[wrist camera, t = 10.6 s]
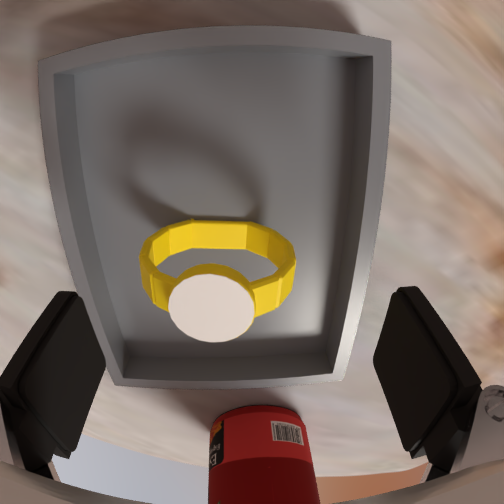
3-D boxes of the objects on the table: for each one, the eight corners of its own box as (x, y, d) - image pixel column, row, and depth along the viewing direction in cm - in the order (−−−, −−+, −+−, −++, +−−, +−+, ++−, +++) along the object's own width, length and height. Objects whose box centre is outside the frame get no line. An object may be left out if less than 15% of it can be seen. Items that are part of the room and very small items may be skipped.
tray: (367, 47, 12) (391, 40, 9) (333, 352, 20) (343, 380, 18) (65, 63, 11) (38, 61, 9) (123, 357, 19) (114, 385, 17)
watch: (163, 254, 16) (123, 334, 10) (160, 202, 14) (108, 266, 9) (284, 262, 16) (295, 349, 10) (290, 209, 14) (309, 280, 9)
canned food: (199, 408, 22) (193, 540, 13) (302, 394, 22) (328, 529, 12) (221, 449, 26) (223, 552, 16) (306, 438, 26) (324, 542, 16)
